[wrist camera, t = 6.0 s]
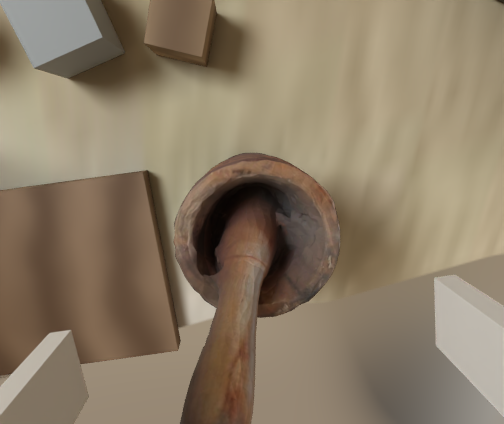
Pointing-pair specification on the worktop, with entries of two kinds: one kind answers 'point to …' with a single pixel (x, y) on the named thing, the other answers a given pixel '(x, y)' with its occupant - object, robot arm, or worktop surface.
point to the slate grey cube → (63, 34)
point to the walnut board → (84, 270)
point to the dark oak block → (181, 29)
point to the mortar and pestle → (249, 268)
